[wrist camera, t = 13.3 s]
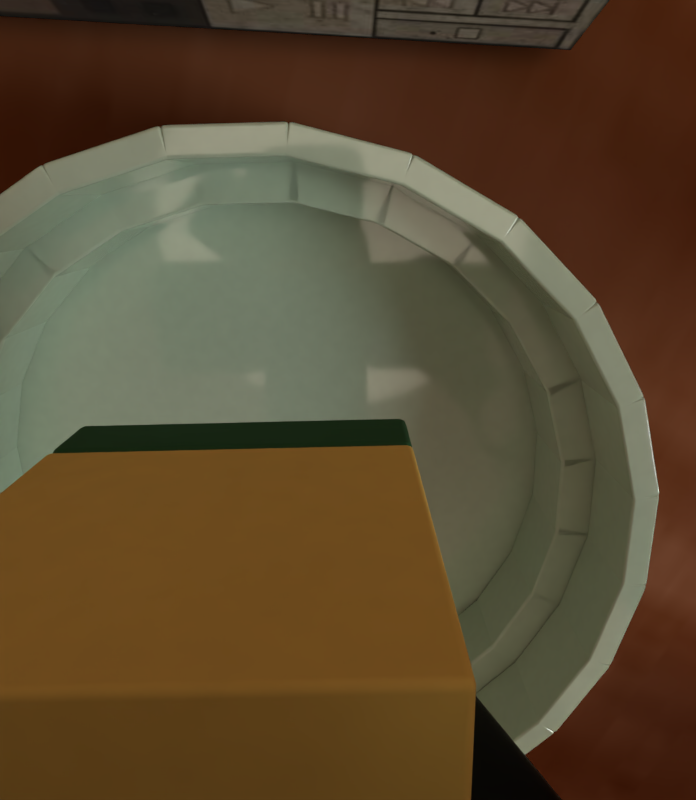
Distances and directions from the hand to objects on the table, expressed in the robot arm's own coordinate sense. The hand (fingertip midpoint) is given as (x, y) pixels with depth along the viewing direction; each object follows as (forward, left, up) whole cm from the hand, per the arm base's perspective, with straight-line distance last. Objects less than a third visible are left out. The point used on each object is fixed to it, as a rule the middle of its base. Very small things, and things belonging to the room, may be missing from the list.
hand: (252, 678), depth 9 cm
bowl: (+1, +1, -11) cm, 11 cm away
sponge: (0, 0, -1) cm, 1 cm away
